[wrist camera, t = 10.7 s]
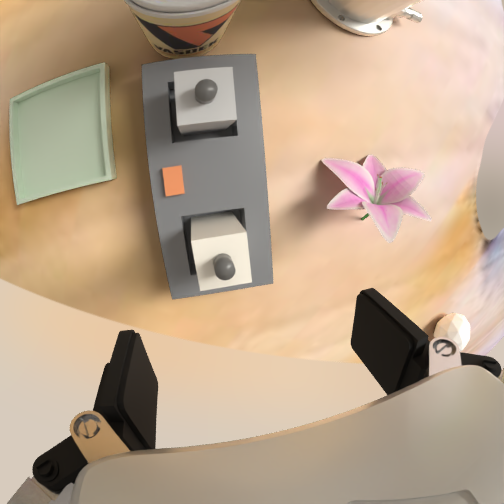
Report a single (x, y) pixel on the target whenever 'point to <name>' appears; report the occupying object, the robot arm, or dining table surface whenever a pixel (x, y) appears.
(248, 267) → the cream plug
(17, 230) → the dining table surface
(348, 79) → the dining table surface
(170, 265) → the power strip
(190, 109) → the grey twin plug
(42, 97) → the sage tray
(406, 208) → the lily
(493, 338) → the dining table surface
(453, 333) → the geometric ball
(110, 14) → the dining table surface
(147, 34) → the coffee cup
